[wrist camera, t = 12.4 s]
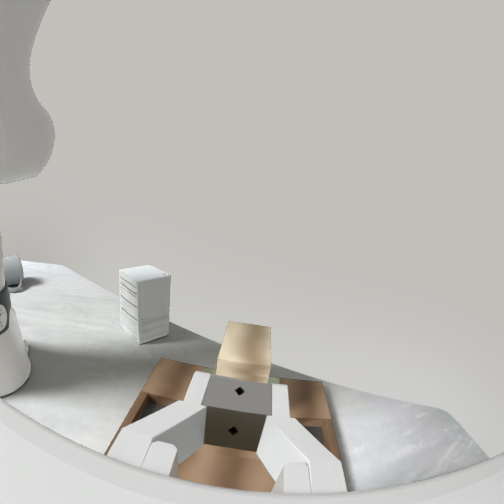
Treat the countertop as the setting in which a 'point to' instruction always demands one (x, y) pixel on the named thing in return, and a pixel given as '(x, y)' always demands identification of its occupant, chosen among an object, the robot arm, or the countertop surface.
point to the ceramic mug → (13, 272)
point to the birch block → (245, 352)
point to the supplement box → (144, 302)
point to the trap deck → (222, 458)
